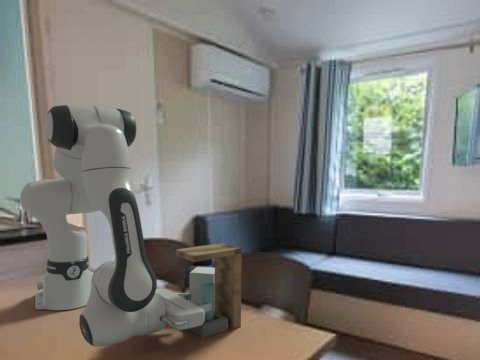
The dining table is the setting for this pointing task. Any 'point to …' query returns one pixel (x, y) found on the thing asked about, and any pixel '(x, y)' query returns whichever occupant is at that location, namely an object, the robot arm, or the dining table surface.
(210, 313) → the peg
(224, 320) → the socket
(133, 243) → the robot arm
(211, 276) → the supplement box
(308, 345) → the dining table surface
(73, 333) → the dining table surface
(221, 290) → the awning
